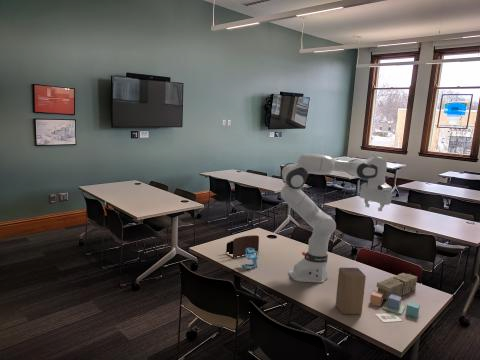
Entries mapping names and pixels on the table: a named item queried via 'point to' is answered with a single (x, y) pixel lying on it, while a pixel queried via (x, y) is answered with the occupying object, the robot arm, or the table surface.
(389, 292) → the block tower
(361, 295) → the wooden block
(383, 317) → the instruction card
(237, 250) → the letter holder
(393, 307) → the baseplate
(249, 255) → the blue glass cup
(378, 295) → the orange cube
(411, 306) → the teal cube
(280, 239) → the table surface
